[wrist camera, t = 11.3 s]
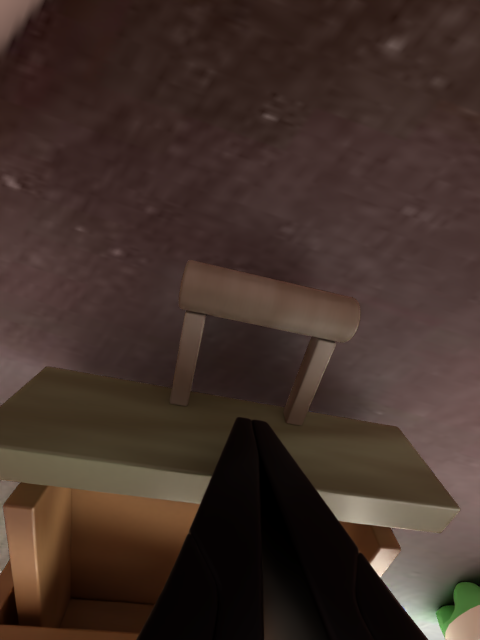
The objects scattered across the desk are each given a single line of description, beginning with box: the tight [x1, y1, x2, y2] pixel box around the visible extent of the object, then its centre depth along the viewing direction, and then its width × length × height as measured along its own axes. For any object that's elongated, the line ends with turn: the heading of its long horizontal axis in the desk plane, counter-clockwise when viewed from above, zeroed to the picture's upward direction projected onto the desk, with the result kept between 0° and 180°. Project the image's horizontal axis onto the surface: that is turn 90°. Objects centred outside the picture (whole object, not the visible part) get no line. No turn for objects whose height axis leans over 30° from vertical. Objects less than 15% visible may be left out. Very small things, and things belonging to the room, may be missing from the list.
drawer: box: [0, 260, 460, 633], centre depth 10 cm, size 18×13×3 cm
